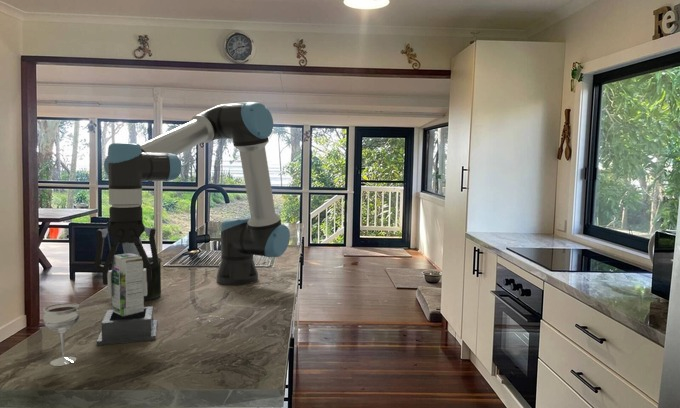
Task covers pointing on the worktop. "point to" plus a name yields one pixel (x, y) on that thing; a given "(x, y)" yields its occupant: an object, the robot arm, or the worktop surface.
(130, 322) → the socket block
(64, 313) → the wineglass
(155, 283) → the mug
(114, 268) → the syrup box
